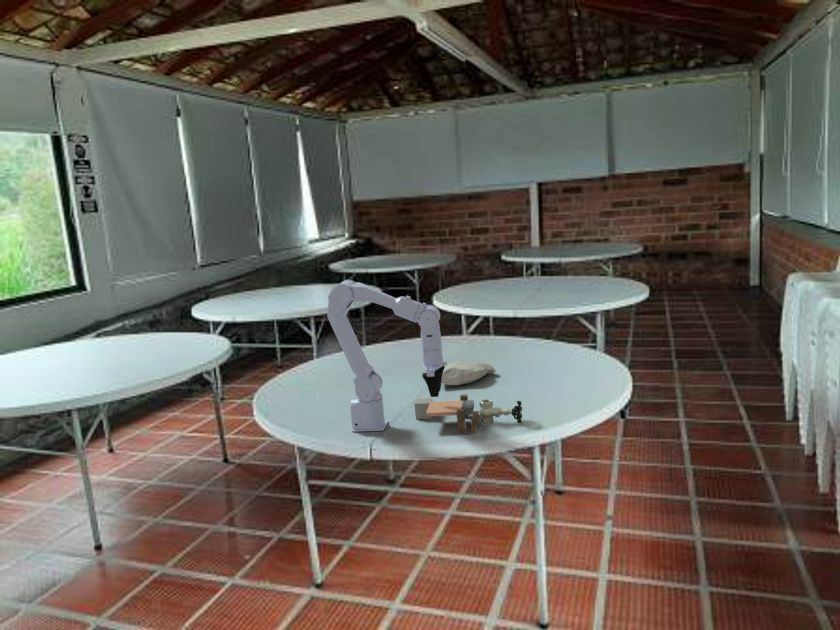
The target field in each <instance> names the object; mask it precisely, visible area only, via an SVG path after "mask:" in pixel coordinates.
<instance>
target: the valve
mask: <svg viewBox="0 0 840 630" xmlns="http://www.w3.org/2000/svg"><path fill="white" fill-rule="evenodd" d="M493 403H494V401H493V400H491V399H489V398H488V399H485V398H484V399H480V401H479V403H478V404H479V407H480V408H479V416H480V423H481V424H482V425H492V424H494V423H495V421H494V420H495V418H500V416H509V414H510V415H512V417H513V418H514V419H515V420H516V423H517V424H522V422H523V421H522V420H523V414H522V413H523V412H522V411H523V407H522V401H521V400H516V404H517V405H515V406H514V407H513V408H511V409H510V410H509V408H503V409H502V408H500V406H495V407H493V406H494V405H493ZM494 417H495V418H494Z"/></svg>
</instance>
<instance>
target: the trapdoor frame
mask: <svg viewBox="0 0 840 630" xmlns="http://www.w3.org/2000/svg"><path fill="white" fill-rule="evenodd" d="M459 397H460V398H459V399H460V400H459V401H463V400H465V401H466V400H468V398H469V397H468V394H460V395H459ZM479 416H480V413H479V411H478V410H473V415H471V422H470V427H469V428H470V429H469V431H470V434H476V433H477V429H478V424H479ZM469 417H470V415H465V413H464V409H457V415H456V422H457V433H458V434H459V435H461V434H464V435H465V434H466V432H467V431H466V430H467V429H466V418H469Z"/></svg>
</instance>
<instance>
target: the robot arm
mask: <svg viewBox="0 0 840 630" xmlns="http://www.w3.org/2000/svg"><path fill="white" fill-rule="evenodd" d="M327 299H328V302H327V303H328V305H327V316H326V317H327V319H328V321H329V324H330V326H331V328H332V330H333V332H334V335H335V336H336V338H337V342H338V343H339V345H340V347H341V350H342V352H343V354H344V356H345V358H346V360H347V363H348V365H349V367H350V370H351V372H352V381H353V383H354V389H355V391H354V392H355V395H356V397H357V398H353V399H351V401H350V416H351V427H352V428H351V429H352V430H351V432H355V433H356V432H381V431H384V430H385V429H386V427H387V425H388V423H389V420H388V419H385V412H384V409H385V408H384V400H383V393H381V389H382V386H383V380H382V379H383V378H382V377H381V375H380V374H378V373H377V372H376V371H375V369H374V367H373V366H372V365H371V364H370V363H369V362H368V359H367V357H366V355H365V353H364V351H363V349H362V347H361V344H360V342H359V339H358V337H357V335H356V334H355V331H354V328H353V327H352V324H351V323H350V320H349V318H348V316H347V314H348V312H349V310H350V308H351V305H352V304H353V303H358V302H359V303H360V302H363V301H367V302H370V303H373V304H377V305H379V306H381V307H382V306H383V307H386V308H388V309H392V311H393V313H394V315H395V316H398V317H400V318H403V319H405V320H408V321H410V322H414V324H415V323H418V325H419V326H420V342H421V353H422V354H421V355H422V368H423V369H424V370H425V372H423V373H422V374H421V375H422V378H423V381H425V383H426V386H427V388H428V392H429V396H430V398H438V397H439V395H440V392H441V388H442V383H441V380H442V374H443V371H444V368H445V366H446V365H447V364H448V361H444V358H443V347H442V335H441V334H442V333H441V326H440V323H439V321H440V319H441V312H440V309H438V308H437V307H436V306H434V305H433V304H427V303H426V302H422V303H421V302H419V301H416V300H414V299H411V296H409V295H406V296H398V297H394V296H392V295H389V294H387V293H385V292H383V291H381V290H378V289H375V288H374V287H371V286H369V285H367V284H365V283H362V282H358V281H357V282H356V281H354V280H352V279H345V280H343V281H341V282H340V283H338V284H335V285H334V286H333V287H332V288H331V290H330V292H329V294H328V296H327Z"/></svg>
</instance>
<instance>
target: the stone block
mask: <svg viewBox="0 0 840 630" xmlns="http://www.w3.org/2000/svg"><path fill="white" fill-rule="evenodd" d="M430 402H433V397H430V398H427V397H426V398H425V397H424V398H416V399H415V402H414V413H415V420H432V419H433V416H426V412H427V409H428V406H429V404H430Z"/></svg>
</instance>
